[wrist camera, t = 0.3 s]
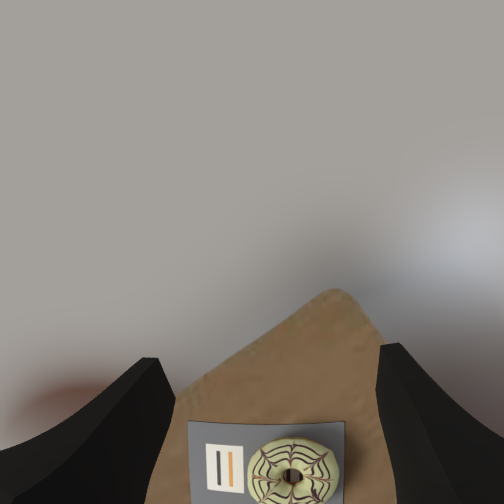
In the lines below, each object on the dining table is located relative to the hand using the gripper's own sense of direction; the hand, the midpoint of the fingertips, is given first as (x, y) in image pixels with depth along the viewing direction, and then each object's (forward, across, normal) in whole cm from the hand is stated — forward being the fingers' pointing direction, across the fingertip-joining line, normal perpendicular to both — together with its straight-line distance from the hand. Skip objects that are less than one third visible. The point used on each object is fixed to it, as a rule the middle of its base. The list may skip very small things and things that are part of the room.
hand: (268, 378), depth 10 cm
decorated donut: (+12, +1, +30) cm, 33 cm away
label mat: (+13, +5, +30) cm, 33 cm away
